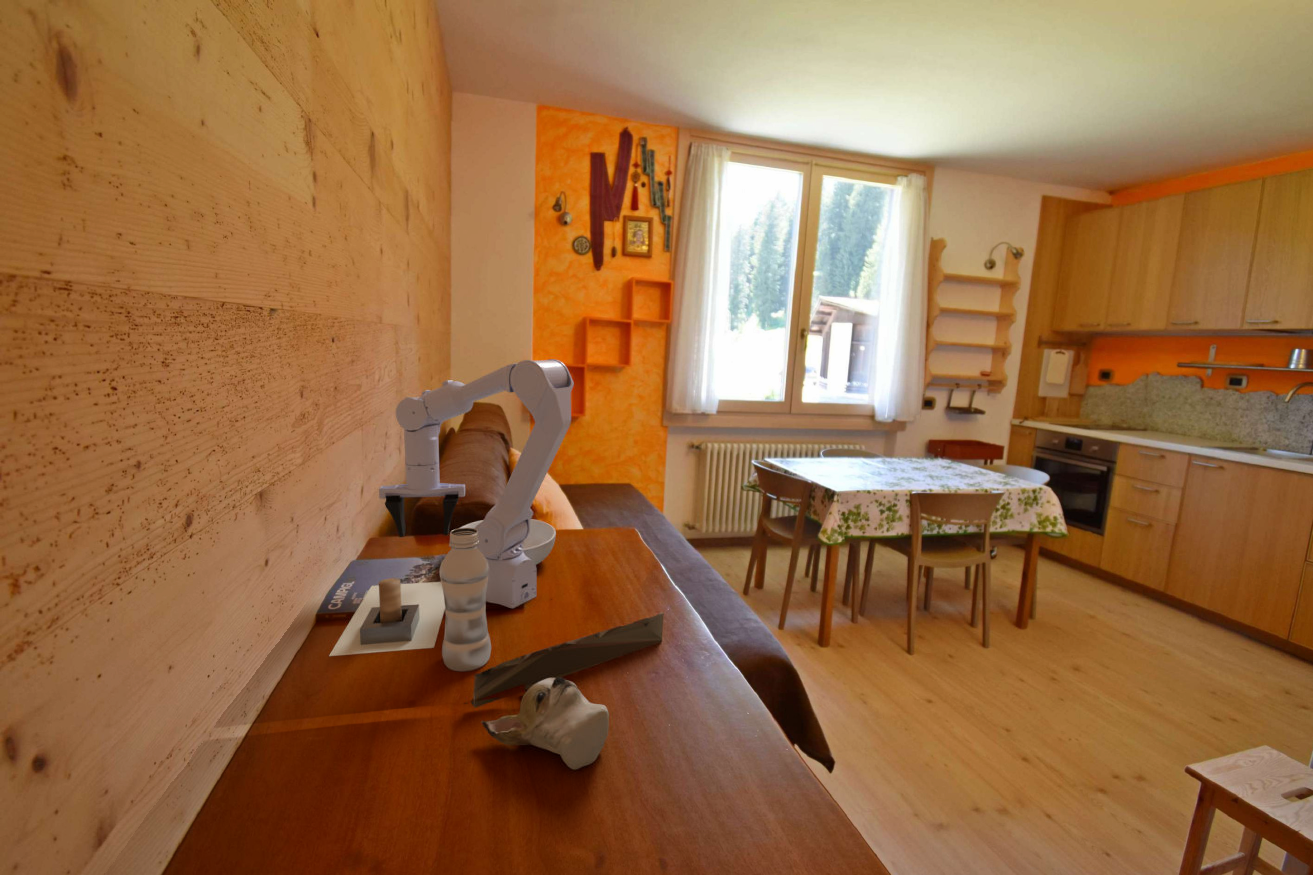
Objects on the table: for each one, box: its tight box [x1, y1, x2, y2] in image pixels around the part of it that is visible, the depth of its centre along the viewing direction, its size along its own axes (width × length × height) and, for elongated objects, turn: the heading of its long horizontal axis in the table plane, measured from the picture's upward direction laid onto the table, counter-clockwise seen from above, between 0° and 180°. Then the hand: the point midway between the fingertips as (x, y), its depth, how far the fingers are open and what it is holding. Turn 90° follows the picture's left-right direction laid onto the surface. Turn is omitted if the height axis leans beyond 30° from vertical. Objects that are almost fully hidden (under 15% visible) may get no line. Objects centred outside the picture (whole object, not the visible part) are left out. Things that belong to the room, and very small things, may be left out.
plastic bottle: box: [439, 527, 492, 672], centre depth 80 cm, size 6×7×20 cm
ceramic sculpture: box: [480, 677, 610, 771], centre depth 66 cm, size 11×9×15 cm
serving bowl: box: [459, 518, 557, 566], centre depth 118 cm, size 21×21×7 cm
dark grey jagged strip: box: [470, 612, 665, 709], centre depth 81 cm, size 30×1×5 cm, turn 127°
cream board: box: [328, 581, 445, 657], centre depth 94 cm, size 24×14×1 cm, turn 13°
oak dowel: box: [378, 577, 402, 623], centre depth 88 cm, size 3×3×8 cm
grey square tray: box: [360, 604, 420, 645], centre depth 88 cm, size 7×7×2 cm
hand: (424, 534), depth 106 cm, fingers open, 7 cm apart
